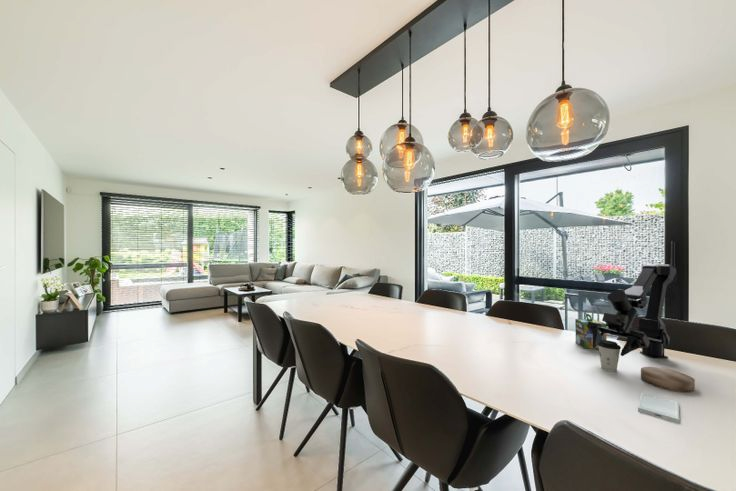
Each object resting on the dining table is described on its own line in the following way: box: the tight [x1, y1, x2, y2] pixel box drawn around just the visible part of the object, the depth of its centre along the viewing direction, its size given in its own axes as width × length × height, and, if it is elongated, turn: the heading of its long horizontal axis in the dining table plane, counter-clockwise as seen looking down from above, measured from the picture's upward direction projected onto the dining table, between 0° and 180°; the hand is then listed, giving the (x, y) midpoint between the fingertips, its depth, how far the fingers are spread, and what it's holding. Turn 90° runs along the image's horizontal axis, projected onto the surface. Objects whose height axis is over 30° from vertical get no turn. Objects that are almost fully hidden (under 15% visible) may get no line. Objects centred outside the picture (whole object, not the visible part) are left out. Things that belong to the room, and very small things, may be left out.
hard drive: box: [637, 392, 680, 424], centre depth 87 cm, size 2×8×12 cm
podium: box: [640, 366, 696, 393], centre depth 103 cm, size 13×13×3 cm
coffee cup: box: [598, 340, 622, 372], centre depth 115 cm, size 7×7×10 cm
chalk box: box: [574, 312, 608, 350], centre depth 141 cm, size 9×9×15 cm
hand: (607, 351), depth 115 cm, fingers open, 9 cm apart
